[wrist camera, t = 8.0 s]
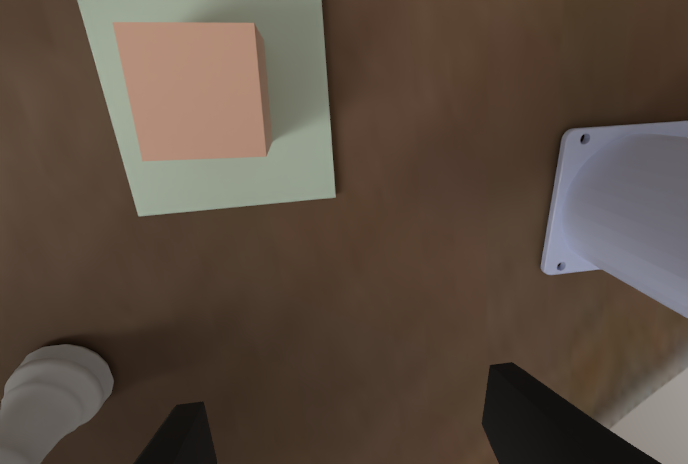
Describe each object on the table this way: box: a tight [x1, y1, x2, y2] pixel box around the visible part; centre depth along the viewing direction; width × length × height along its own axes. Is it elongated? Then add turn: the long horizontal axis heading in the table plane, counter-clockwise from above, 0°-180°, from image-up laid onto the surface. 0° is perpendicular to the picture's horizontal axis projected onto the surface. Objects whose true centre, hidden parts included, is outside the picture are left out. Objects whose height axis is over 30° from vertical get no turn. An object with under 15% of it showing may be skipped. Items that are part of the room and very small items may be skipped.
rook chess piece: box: [0, 344, 114, 464], centre depth 16 cm, size 4×4×8 cm
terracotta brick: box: [113, 22, 272, 161], centre depth 13 cm, size 4×4×4 cm
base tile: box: [77, 0, 336, 216], centre depth 16 cm, size 9×9×1 cm
